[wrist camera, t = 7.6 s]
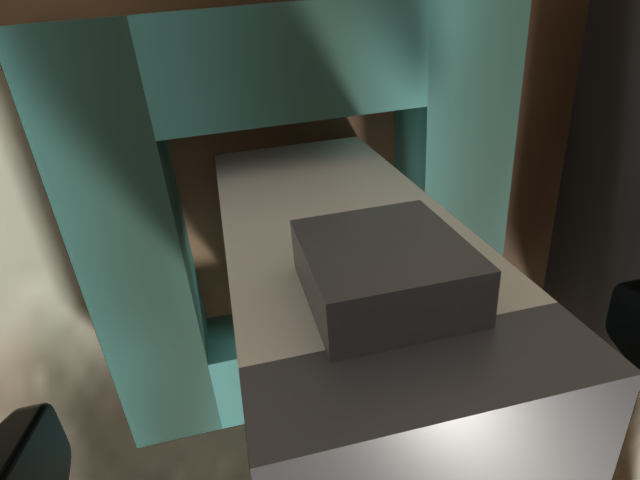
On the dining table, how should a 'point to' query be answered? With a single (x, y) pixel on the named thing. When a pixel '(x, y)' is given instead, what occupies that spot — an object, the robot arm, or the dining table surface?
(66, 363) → the dining table surface
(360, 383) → the plug
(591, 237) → the dock
